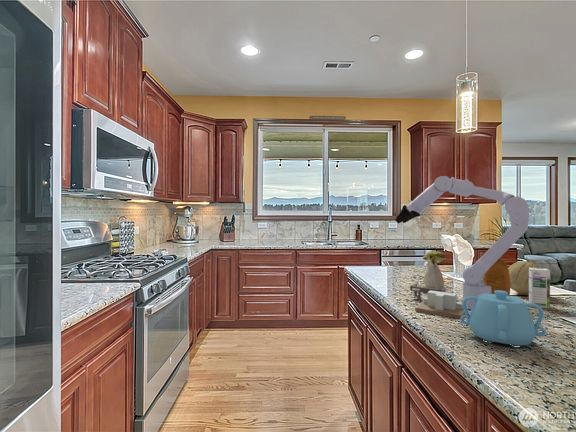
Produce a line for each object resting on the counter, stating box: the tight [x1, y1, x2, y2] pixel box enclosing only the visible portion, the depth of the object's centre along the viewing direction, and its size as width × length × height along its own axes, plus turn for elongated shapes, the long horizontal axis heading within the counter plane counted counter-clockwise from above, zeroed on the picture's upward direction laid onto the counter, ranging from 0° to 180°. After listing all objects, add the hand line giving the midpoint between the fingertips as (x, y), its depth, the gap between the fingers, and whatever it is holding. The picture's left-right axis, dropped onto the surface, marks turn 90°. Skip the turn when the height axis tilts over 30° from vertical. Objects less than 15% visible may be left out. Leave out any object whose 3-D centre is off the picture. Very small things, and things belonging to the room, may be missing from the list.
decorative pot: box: [459, 290, 547, 347], centre depth 92 cm, size 16×16×14 cm
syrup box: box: [528, 267, 551, 309], centre depth 125 cm, size 6×6×14 cm
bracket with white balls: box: [409, 283, 446, 300], centre depth 135 cm, size 8×12×5 cm, turn 54°
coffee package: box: [482, 256, 511, 296], centre depth 133 cm, size 10×12×22 cm
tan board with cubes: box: [414, 290, 465, 319], centre depth 118 cm, size 12×15×6 cm
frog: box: [422, 250, 453, 293], centre depth 148 cm, size 12×13×18 cm
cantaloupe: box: [508, 260, 542, 296], centre depth 143 cm, size 15×15×15 cm
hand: (399, 221), depth 139 cm, fingers open, 7 cm apart
